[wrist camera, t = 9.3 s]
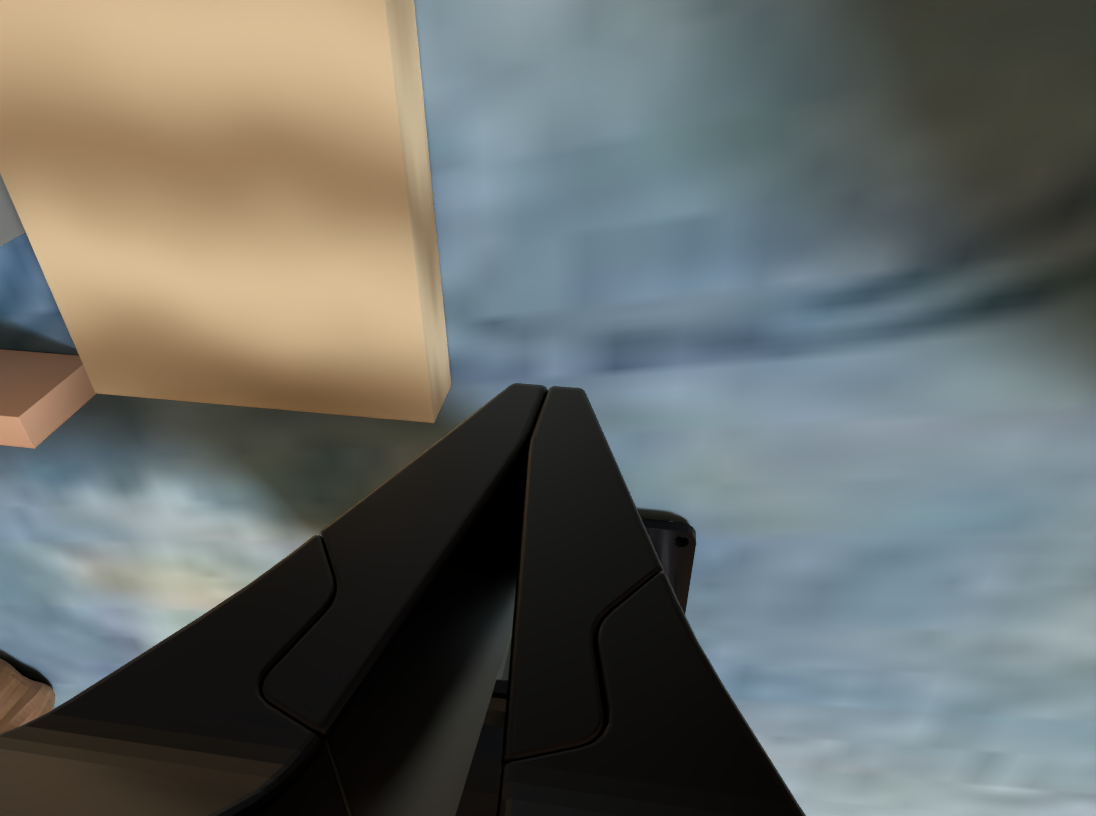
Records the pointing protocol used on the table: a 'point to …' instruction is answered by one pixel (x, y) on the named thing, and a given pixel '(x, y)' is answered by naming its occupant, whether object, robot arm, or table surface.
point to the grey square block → (8, 217)
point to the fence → (39, 394)
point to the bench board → (231, 198)
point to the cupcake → (21, 698)
